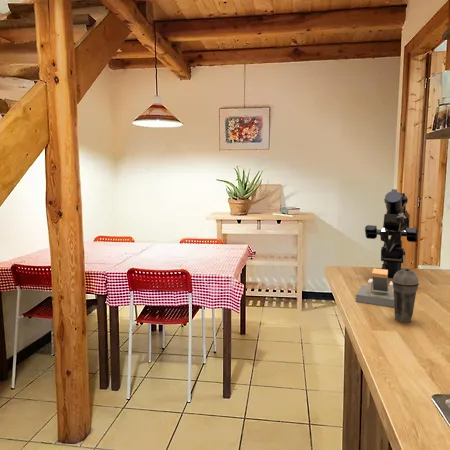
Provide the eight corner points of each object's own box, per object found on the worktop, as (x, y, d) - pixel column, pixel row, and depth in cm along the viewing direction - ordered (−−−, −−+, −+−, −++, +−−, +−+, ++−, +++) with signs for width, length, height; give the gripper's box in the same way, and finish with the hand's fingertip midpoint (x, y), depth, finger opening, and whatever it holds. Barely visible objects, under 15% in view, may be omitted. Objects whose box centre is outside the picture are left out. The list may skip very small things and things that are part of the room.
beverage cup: (422, 322, 120) (426, 256, 117) (403, 326, 118) (407, 258, 115) (403, 313, 127) (406, 251, 124) (384, 317, 125) (388, 253, 121)
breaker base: (362, 291, 149) (362, 274, 148) (403, 297, 142) (404, 279, 141) (355, 301, 138) (356, 283, 138) (400, 308, 132) (401, 289, 131)
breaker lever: (374, 287, 142) (373, 268, 137) (388, 288, 140) (387, 269, 135) (373, 291, 140) (372, 272, 136) (387, 293, 138) (386, 274, 134)
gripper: (366, 204, 159) (360, 237, 151) (419, 206, 150) (415, 241, 142) (369, 221, 167) (363, 253, 159) (419, 224, 158) (415, 258, 151)
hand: (388, 251), depth 153 cm, fingers closed
